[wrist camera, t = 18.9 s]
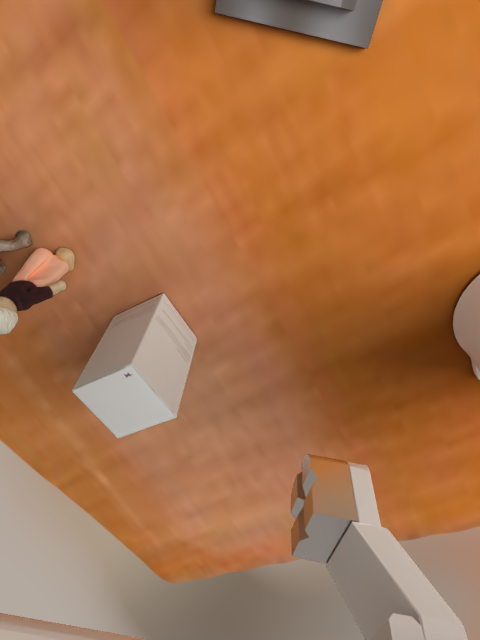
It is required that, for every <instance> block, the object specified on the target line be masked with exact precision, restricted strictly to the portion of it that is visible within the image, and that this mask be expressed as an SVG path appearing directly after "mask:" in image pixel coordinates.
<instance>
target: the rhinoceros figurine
mask: <svg viewBox="0 0 480 640" xmlns="http://www.w3.org/2000/svg"><path fill="white" fill-rule="evenodd" d="M15 236H16V238H14V239H13V240H1V239H0V252H2V251H14V250H17V249H20V248H26V247H29V245H30V243H31V244H32V239H31V238H30V236H29V232H28V231H26V230H19V231H17V232H16V235H15ZM4 269H6V267H5V266H4V264H3V263H2V262H1V261H0V274H3V273H4V271H5V270H4Z"/></svg>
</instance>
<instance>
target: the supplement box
mask: <svg viewBox="0 0 480 640" xmlns="http://www.w3.org/2000/svg"><path fill="white" fill-rule="evenodd" d="M196 342H197V338H196V337H195V335H194V334H193V332H192V331H191V330H190V328H189V327H188V325H187V324H186V323H185V321H184V320H183V319H182V317H181V316H180V314H179V313H178V312H177V310H176V309H175V308H174V306H173V305H172V303H171V302H170V301H169V299H168V298H167V297H166V295H165V294H164V293H162V294H160V295H158V296H156V297H154V298H152V299H150V300H148V301H145V302H143V303H141V304H139V305H137V306H135V307H133V308H131V309H128V310H126V311H124V312H122V313H120V314H118V315H116V316H114V317H113V319H112V321H111V323H110V324H109V326H108V328H107V330H106V331H105V333H104V335H103V337H102V338H101V340H100V342H99V344H98V345H97V347H96V349H95V351H94V352H93V354H92V356H91V357H90V359H89V361H88V363H87V365H86V366H85V368H84V370H83V372H82V373H81V375H80V377H79V379H78V381H77V382H76V384H75V386H74V387H73V389H72V392H73V393H74V394H75V395H76V396H77V397H78V398H79V399H80V400H81V401H82V402H83V403H84V404H85V405H86V406H87V407H88V408H89V409H90V410H91V411H92V412H93V413H94V414H95V415H96V417H97V418H98V419H99V420H100V421H101V422H102V423H103V424H104V425H105V426H106V427H107V428H108V429H109V430H110V431H111V432H112V433H113V434H114V435H115V436H116V437H117V438H121V437H124V436H126V435H129V434H132V433H135V432H137V431H140V430H143V429H146V428H148V427H151V426H154V425H157V424H160V423H163V422H166V421H169V420H172V419H175V418H177V414H178V410H179V406H180V402H181V399H182V395H183V391H184V387H185V384H186V380H187V376H188V372H189V369H190V365H191V361H192V357H193V353H194V350H195V346H196Z"/></svg>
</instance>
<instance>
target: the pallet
mask: <svg viewBox="0 0 480 640" xmlns="http://www.w3.org/2000/svg"><path fill="white" fill-rule="evenodd" d="M382 1H383V0H216V8H215V13H219V14H223V15H227V16H231V17H236V18H240V19H244V20H248V21H253V22H257V23H261V24H265V25H269V26H274V27H278V28H282V29H286V30H291V31H295V32H299V33H303V34H308V35H312V36H316V37H320V38H325V39H329V40H333V41H337V42H342V43H346V44H350V45H354V46H359V47H363V48H367V49H368V47H369V44H370V41H371V37H372V34H373V31H374V28H375V24H376V21H377V18H378V15H379V11H380V8H381V5H382Z"/></svg>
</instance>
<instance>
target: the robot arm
mask: <svg viewBox="0 0 480 640" xmlns="http://www.w3.org/2000/svg"><path fill="white" fill-rule="evenodd" d="M453 330H454V334H455V337H456V340H457V342H458V343H459V345H460V346H461V348H462V349H463V350H464V351H465V352H466V353H467V354H468V355H469V357H470V358H471V361H472V367H473V371H474V374H475V375H476V377H477V378H478V379H479V380H480V274H479V275H478V276H477V277H476V278H475V279H474V280H473V281H472V282H471V283H470V284H469V286H468V287H467V288H466V289H465V291H464V292H463V294H462V295H461V297H460V299H459V301H458V303H457V305H456V308H455V312H454V317H453ZM291 514H292V515H293V517H294V518H295V522H294V524H293V527H292V529H291V545H292V557H296V558H301V559H305V560H310V561H315V562H319V563H324V564H327V565H326V567H327V569H328V571H329V573H330V575H331V577H332V578H333V580H334V582H335V584H336V586H337V588H338V590H339V592H340V594H341V596H342V597H343V599H344V601H345V603H346V605H347V607H348V609H349V611H350V612H351V614H352V616H353V618H354V620H355V622H356V623H357V626H358V627H359V629H360V631H361V633H362V635H363V637H364V638H365V640H467V636H466V633H465V630H464V627H463V624H462V623H461V621H460V620H459V619H458V618H457V616H456V615H455V614H454V613H453V611H452V610H451V609H450V608H449V606H448V605H447V604H446V603H445V601H444V600H443V599H442V598H441V596H440V595H439V594H438V593H437V591H436V590H435V588H434V587H433V586H432V585H431V583H430V582H429V581H428V580H427V578H426V577H425V576H424V574H423V573H422V572H421V571H420V569H419V568H418V567H417V566H416V564H415V563H414V562H413V561H412V559H411V558H410V557H409V555H408V554H407V553H406V552H405V550H404V549H403V548H402V546H401V545H400V544H399V543H398V541H397V540H396V539H395V538H394V536H393V535H392V534H391V532H390V531H389V530H388V529H387V528H384V527H381V524H380V519H379V514H378V509H377V504H376V499H375V495H374V490H373V485H372V480H371V475H370V470H369V468H368V467H367V465H362V464H357V463H352V462H346V461H343V460H337V459H332V458H327V457H321V456H316V455H310V454H307V455H306V456H305V457H304V459H303V462H302V472H301V473H299V474H297V476H296V478H295V481H294V484H293V489H292V494H291ZM0 640H148V639H143V638H137V637H132V636H126V635H120V634H115V633H109V632H103V631H98V630H92V629H87V628H81V627H75V626H70V625H64V624H59V623H53V622H47V621H42V620H36V619H31V618H25V617H20V616H14V615H8V614H3V613H0Z"/></svg>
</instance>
